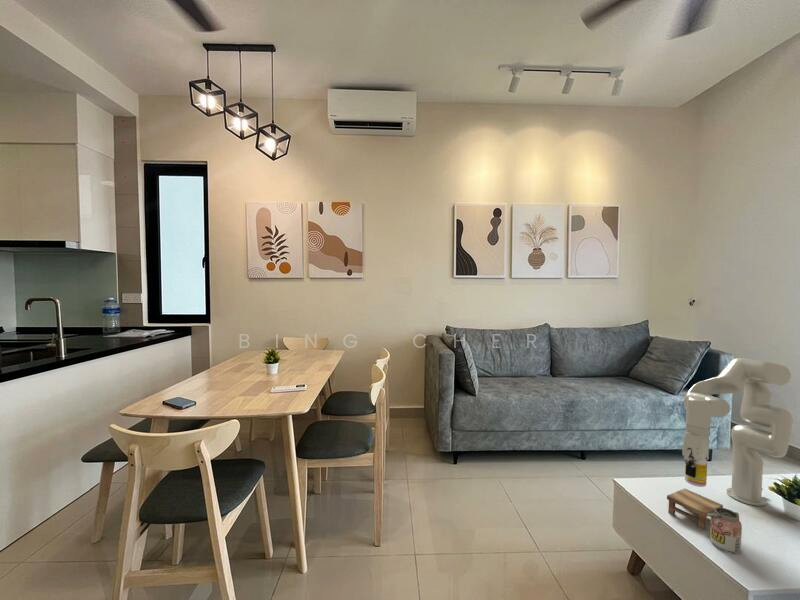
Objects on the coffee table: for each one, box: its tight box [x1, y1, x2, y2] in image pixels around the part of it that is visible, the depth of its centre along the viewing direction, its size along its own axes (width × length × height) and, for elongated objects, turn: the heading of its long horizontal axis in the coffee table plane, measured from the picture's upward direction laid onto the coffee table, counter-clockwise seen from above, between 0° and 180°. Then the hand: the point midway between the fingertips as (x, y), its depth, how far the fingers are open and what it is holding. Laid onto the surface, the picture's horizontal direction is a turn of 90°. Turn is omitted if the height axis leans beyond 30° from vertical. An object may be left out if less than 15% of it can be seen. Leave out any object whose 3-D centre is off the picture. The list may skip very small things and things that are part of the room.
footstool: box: [666, 488, 724, 531], centre depth 144 cm, size 13×13×7 cm
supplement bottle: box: [684, 454, 708, 488], centre depth 144 cm, size 7×7×13 cm
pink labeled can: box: [707, 507, 743, 554], centre depth 128 cm, size 9×8×12 cm
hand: (695, 473), depth 144 cm, fingers closed on supplement bottle, 6 cm apart
